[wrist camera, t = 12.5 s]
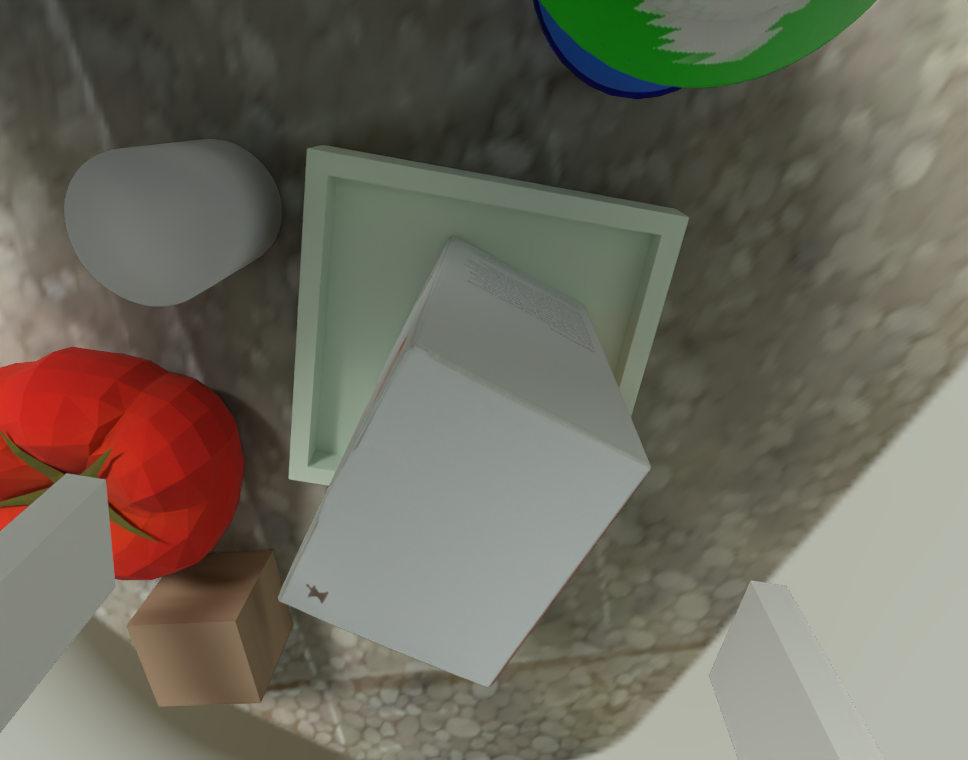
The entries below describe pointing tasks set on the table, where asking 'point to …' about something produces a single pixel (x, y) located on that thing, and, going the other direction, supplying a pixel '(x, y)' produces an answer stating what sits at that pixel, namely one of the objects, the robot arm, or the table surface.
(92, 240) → the grey cylinder
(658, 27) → the toy
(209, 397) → the tomato
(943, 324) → the table surface
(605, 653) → the table surface
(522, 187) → the tray
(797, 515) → the table surface
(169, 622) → the walnut cube
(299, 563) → the small box
